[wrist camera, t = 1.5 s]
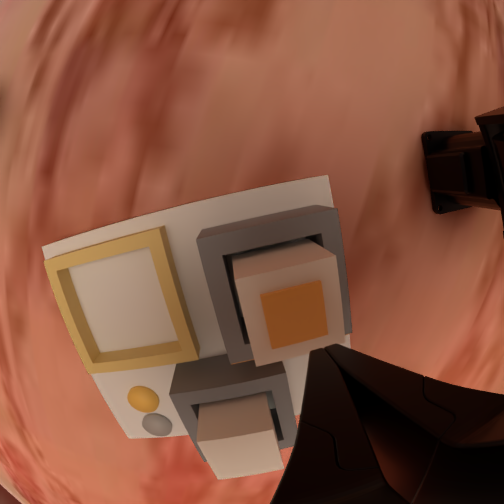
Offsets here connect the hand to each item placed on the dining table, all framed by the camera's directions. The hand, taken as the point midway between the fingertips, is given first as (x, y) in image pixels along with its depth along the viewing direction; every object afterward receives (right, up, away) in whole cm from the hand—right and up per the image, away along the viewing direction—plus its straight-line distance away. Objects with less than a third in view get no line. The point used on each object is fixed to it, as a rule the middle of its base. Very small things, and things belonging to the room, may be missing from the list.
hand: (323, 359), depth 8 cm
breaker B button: (-3, -7, +9) cm, 12 cm away
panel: (-5, -2, +12) cm, 13 cm away
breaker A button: (-1, +2, +7) cm, 8 cm away
